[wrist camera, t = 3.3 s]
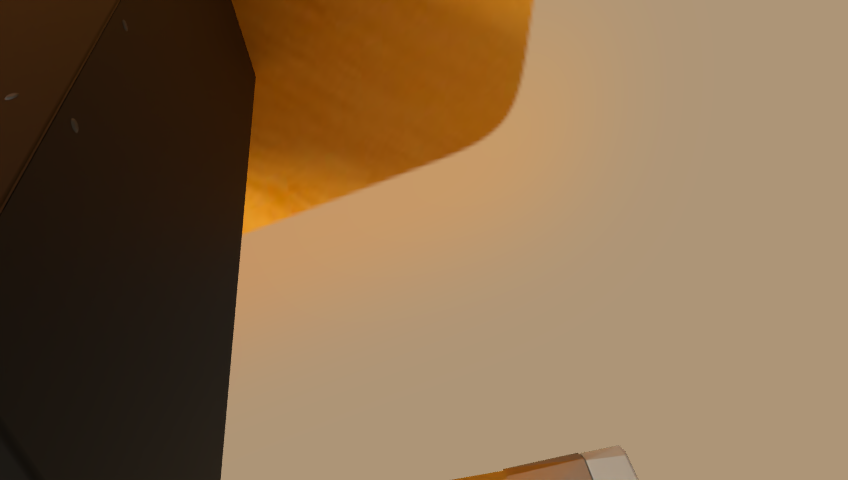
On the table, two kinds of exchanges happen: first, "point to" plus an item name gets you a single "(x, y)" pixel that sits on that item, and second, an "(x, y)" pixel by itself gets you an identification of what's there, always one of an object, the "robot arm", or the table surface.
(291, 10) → the table surface
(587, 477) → the robot arm
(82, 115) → the black long block
